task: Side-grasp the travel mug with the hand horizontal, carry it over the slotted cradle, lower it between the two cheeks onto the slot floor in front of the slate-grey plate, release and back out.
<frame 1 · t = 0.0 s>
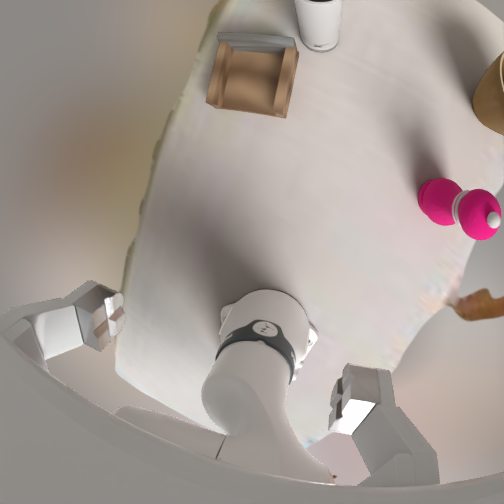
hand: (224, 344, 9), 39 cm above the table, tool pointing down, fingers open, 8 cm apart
cradle: (256, 79, 41), on the table
pepper mill: (433, 198, 40), on the table
travel mug: (320, 38, 36), on the table
plant pot: (485, 109, 32), on the table
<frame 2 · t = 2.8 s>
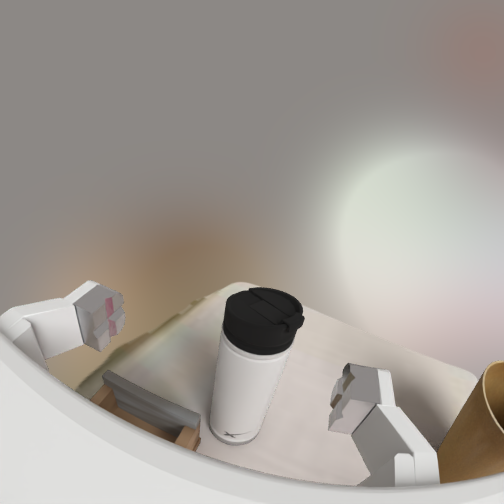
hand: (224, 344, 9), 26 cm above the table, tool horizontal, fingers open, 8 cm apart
cradle: (132, 456, 23), on the table
travel mug: (234, 427, 31), on the table
plant pot: (447, 471, 23), on the table
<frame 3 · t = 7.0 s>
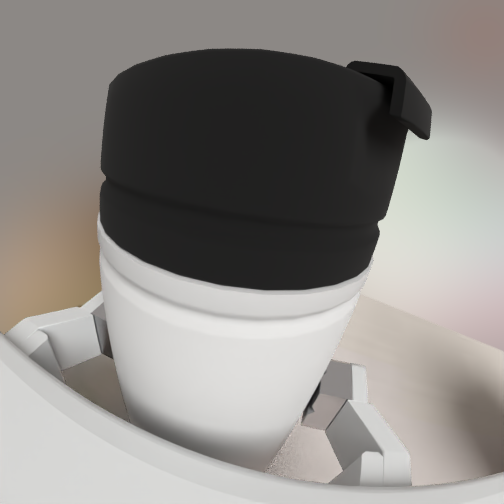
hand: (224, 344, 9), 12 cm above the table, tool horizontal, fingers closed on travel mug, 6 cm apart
travel mug: (202, 479, 13), on the table, touching gripper
when the fingers open (15 cm above the table, at t = 12.1 s): travel mug stays where it is, resting on cradle.
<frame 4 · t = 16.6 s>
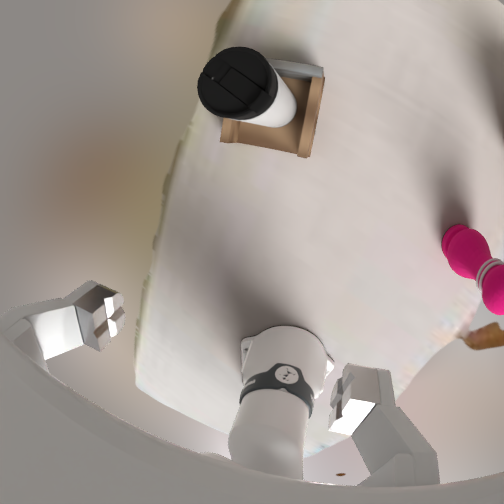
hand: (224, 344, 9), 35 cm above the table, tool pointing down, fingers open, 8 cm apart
cradle: (276, 108, 37), on the table
pepper mill: (456, 242, 37), on the table
travel mug: (276, 107, 36), point 1 cm above the table, touching cradle
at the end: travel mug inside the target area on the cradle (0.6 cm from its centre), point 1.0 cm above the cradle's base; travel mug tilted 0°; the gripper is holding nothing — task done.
